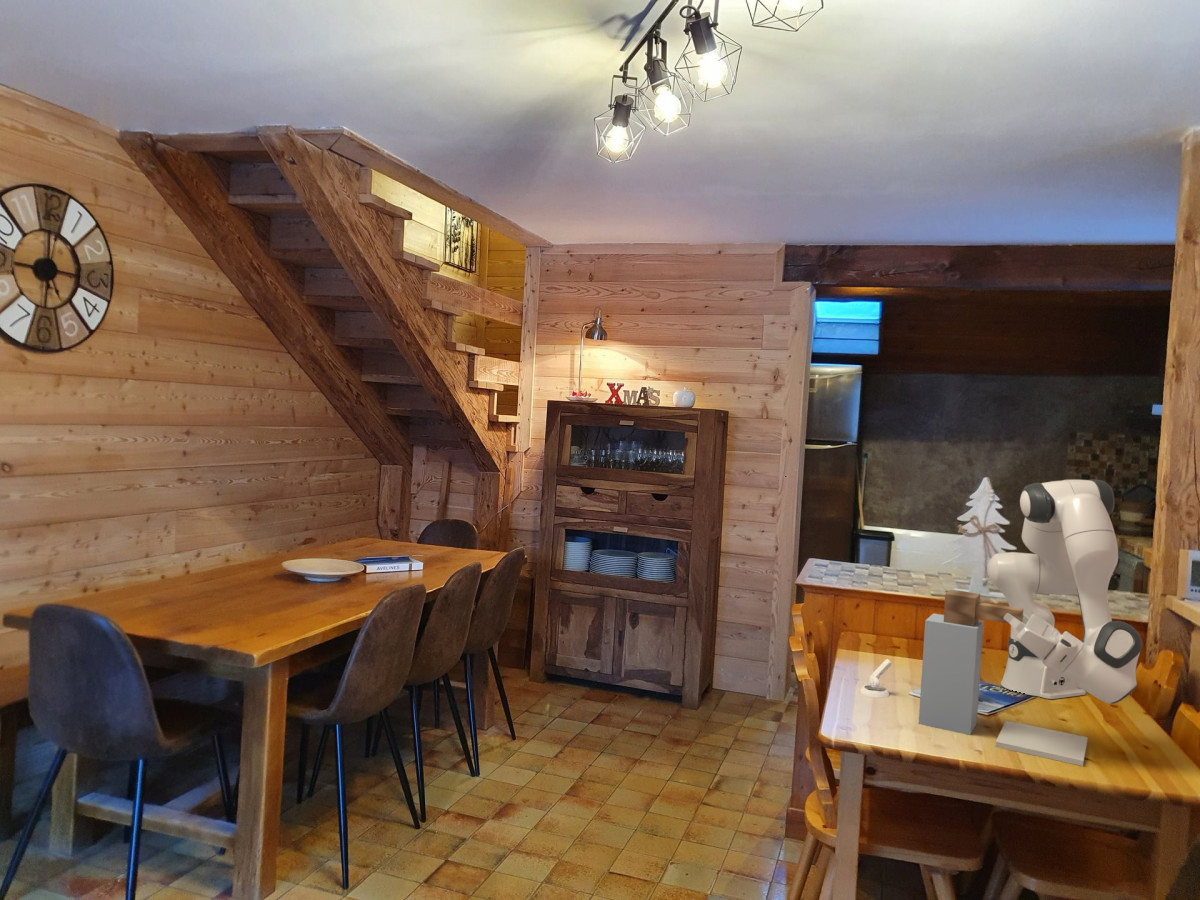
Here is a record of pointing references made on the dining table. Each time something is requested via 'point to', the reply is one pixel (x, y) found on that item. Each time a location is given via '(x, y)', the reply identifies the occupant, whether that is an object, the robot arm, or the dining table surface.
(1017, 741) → the felt pad
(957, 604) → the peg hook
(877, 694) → the hook
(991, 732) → the dining table surface
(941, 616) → the post
